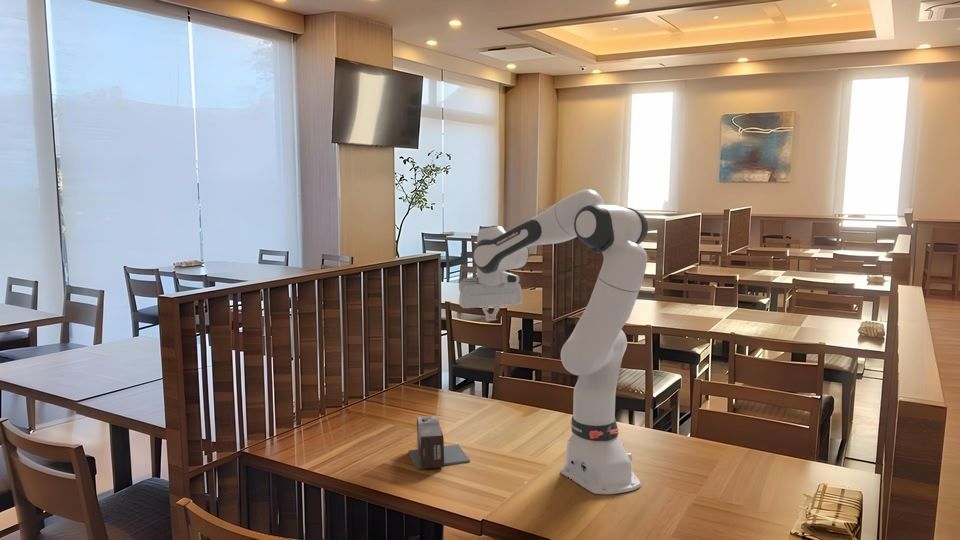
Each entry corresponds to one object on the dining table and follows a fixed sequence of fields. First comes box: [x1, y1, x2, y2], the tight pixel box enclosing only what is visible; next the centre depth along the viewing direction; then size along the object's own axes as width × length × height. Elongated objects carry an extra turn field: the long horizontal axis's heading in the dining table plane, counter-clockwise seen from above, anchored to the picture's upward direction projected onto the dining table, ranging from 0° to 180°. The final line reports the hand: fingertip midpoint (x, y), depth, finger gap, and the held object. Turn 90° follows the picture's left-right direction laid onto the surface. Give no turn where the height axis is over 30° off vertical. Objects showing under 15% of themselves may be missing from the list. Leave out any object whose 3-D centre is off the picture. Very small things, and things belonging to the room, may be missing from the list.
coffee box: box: [416, 415, 445, 470], centre depth 190 cm, size 9×6×16 cm
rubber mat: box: [408, 443, 471, 470], centre depth 192 cm, size 12×15×1 cm
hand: (490, 320), depth 214 cm, fingers closed
